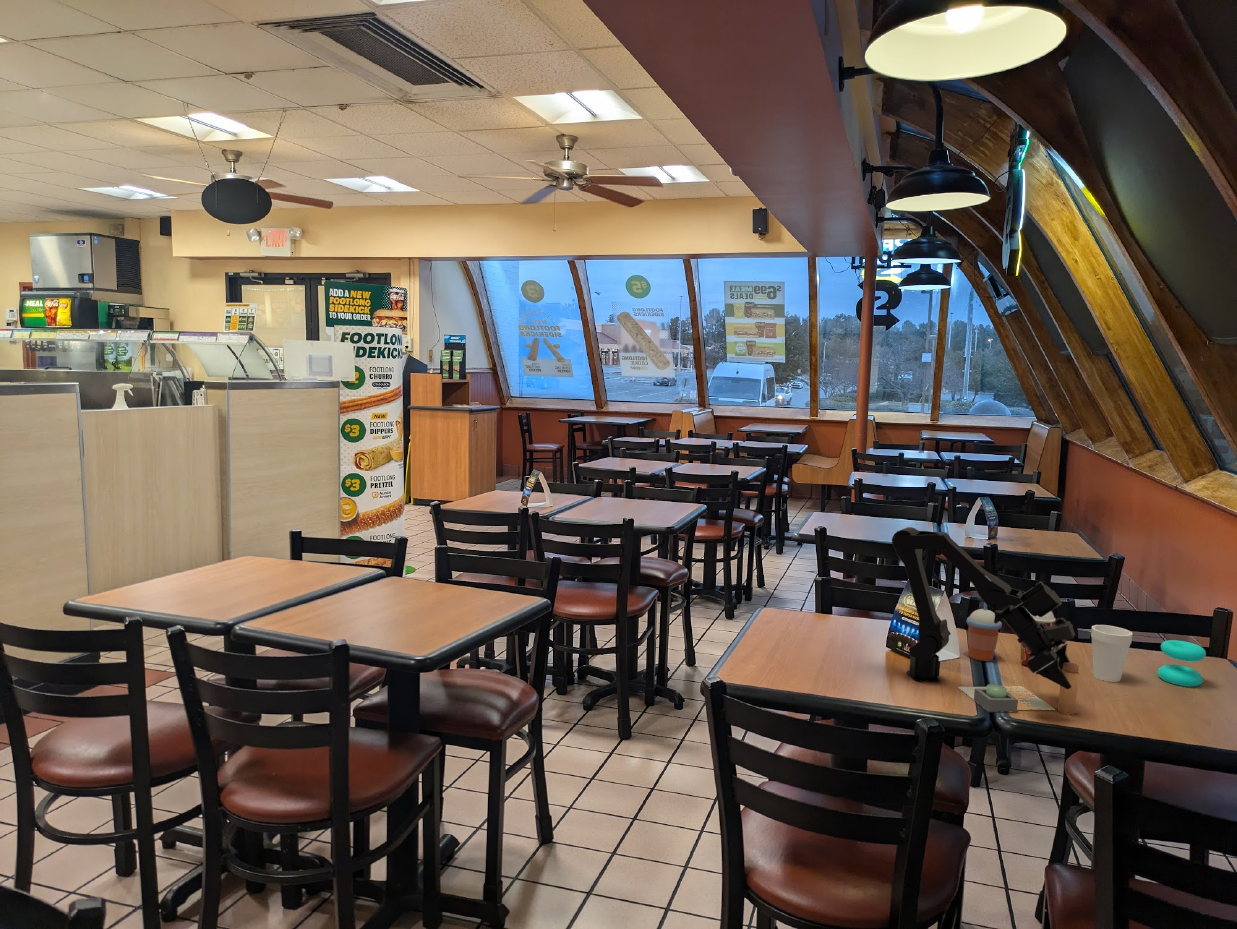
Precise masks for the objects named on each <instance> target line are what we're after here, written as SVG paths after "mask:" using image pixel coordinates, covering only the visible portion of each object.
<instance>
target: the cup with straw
mask: <svg viewBox="0 0 1237 929" xmlns="http://www.w3.org/2000/svg"><path fill="white" fill-rule="evenodd" d="M994 619H995V613H994V612H993V611H992V610H989V609H988V605H987V604H986V603H985V602H984V601H983V608H979V609H976V610H974V611H972V612H971V614H970V615H969V616H968V617H967V618H966V624H967V625H968V629H967V644H968V656H969V657H970V658H971V659H973V660H976V661H981V662H991V661H993V658H994V654H995V650H996V649H997V643H998V638H999V630H1000V629H1001V628H1002V626H1003V624H1002V622H1001V621H999V622H998V623H994Z"/></svg>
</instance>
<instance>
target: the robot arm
mask: <svg viewBox="0 0 1237 929" xmlns="http://www.w3.org/2000/svg"><path fill="white" fill-rule="evenodd" d="M891 543H892V547H893V548H894V551H895V553H896V555H897V556H898V558H899V559H900V561H901V562H902V564H903V566H904V568H905V572H906V575H907V580H908V584H909V587H910V591H911V594H912V598H913V601H914V604H915V609H916V612H917V617H918V627H917V629H918V630H917V631H918V632H917V633H918V634H917V635H918V640H917V641H916V643H914V644H913V645H912V646H911V647H909V648H908V651H909V653H910V658H909V669H908V670H906V674H907V675H908V676H909V677H911V678H912V679H913V680H914V681H916V682H926V683H927V682H931V683H932V682H937V683H939V682H941V679H940V678H939V677H940V672H941V670H940V669H941V661H940V656H939V655H938V654H937V653H939V652H941V651H942V650H943V649H944V648H945V647H946V646H947V645H948V644H949V641H950V636H951V635H952V634H951V632H950V630H949V628H948V620H947V619H942V620H941V618H940V617H939V615H938V614H937V611H936V608H935V605H934V599H933V596H932V593H931V592H932V591H931V589H930V586H929V582H928V578H927V575H926V571H925V567H924V564H923V550H928V549H930V550H931V549H933V550H937V551H938V552H939V553H941V555H942V556H943V557H944V558H946V559H947V560H948V561H949V563H950V564H952V565H953V566H954V568H956V569H957V570H958V571H959V572H960V573H961V574H963V576H964V577H965V578H967V579H968V580H969V581H970V582H971V584H972V585H973V587H974V588H975V591H976V592H977V594H978V595H979V597H980V598H981V599H982V600H983V603H984V602H985V603H986V604H987V607H989V608H991V609H996V610H995V611H994V612H993V613H995V619H994V623H998V622H999V621H1000V622H1001V621H1002V620H1003V621H1004V622H1005V624H1007V626H1008V627H1009V629H1011V631H1012V632H1013V633H1014V634H1015V636H1016V637H1017V642H1018V643H1019V644H1021V642H1023V644H1024V645H1025V646H1026V647H1027V648H1028V650H1029V651H1030V654H1029V655H1030V656H1031V657H1030V659H1029V660H1028V665H1027V666H1026V667H1027V668H1028V669H1029V671H1031V673H1032V674H1036V675H1039V676H1041V677H1043V678H1045V679H1047V680H1049V681H1052V682H1053V683H1055V684H1056V685H1059V687H1060V686H1062V687H1064V688H1066V689H1070V688H1071V687H1072V686H1071V685H1070V683H1069V681H1068V680H1067V678H1066V676H1065V675H1064V673H1063V672H1062V669H1063V663H1066V662H1068V663H1072V662H1071V661H1070V659H1069V657H1068V654H1067V649H1068V643H1067V641H1069V640H1072V639H1074V638H1075V636H1076V633H1075V630H1074V628H1073V627H1074V625H1073V623H1072V622H1071V621H1070V620H1069V621H1067V620H1066V618H1064V617H1059V618H1056V620H1055V624H1054V625H1052V626H1049V627H1046V626H1045V625H1044V624H1043V623H1042V624H1041V623H1039V624H1038V623H1037V621H1036V620H1035V619H1034V618H1033V617H1032V616H1031V615H1033V616H1035V617H1036V616H1039V617H1043V616H1044V615H1046V614H1047V613H1049V612H1050V611H1052V612H1053V610H1055V609H1057V608H1058V607H1060V606H1061V605H1062V604H1063V602H1062V600H1061V598H1060V596H1059V595H1058V594H1057V592H1055V590H1054V589H1051V588H1050V587H1049V586H1048V585H1046V584H1045V583H1044V582H1043V581H1038V582H1037V583H1036V584H1035V585H1034V586H1033V587H1031V588H1030V589H1029V590H1026V591H1024V590H1020V589H1016V588H1013V587H1011V586H1010V584H1008V583H1007V582H1005V581H1004V580H1003V579H1001V578H999V577H998V576H996V575H995V574H992V573H990V572H989V571H987V570H986V569H984V568H983V567H982V565H980V564H979V563H978V562H977V561H976V560H975V559H974V558H972V557H971V556H970V554H968V553H967V552H966V551H965V550H964V549H963V548H962V547H961V546H960V545H959V544H958V543H956V542H955V541H954V540H953V538H952V537H950V535H949V533H947V532H945V531H937V532H936V531H929V530H919V529H917V528H915V527H911V526H910V527H909V526H907V527H905V528H902V529H899V530H898V531H896V532H895V533H893V536H892V537H891ZM1020 602H1021V603H1020ZM1018 603H1019V604H1018ZM1016 604H1018V605H1016ZM1006 606H1007V607H1006ZM1004 607H1005V608H1004ZM1003 608H1004V609H1003ZM998 609H1002V610H998ZM1026 609H1027V610H1026Z"/></svg>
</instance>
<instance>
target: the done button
mask: <svg viewBox="0 0 1237 929" xmlns="http://www.w3.org/2000/svg"><path fill="white" fill-rule="evenodd" d="M1003 686H1004V685H1000V684H995V683H989V684H987V685H986V687H987V688H986V694H987V695H988V696H989V697H991V698H1006V693H1007V689H1006V688H1005V687H1003Z"/></svg>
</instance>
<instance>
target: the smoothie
mask: <svg viewBox="0 0 1237 929" xmlns="http://www.w3.org/2000/svg"><path fill="white" fill-rule="evenodd" d="M1025 609H1026V608H1025ZM1026 610H1027V609H1026ZM1031 616H1032V617H1033V618H1034V619H1035V620H1036V621H1037V623H1038V624H1039V623H1041V624H1042V623H1043V624H1044V625H1045V626H1046V627H1049V626H1052V625H1055V623H1056V620H1057V618H1056V617H1055V615H1054V613H1053V610H1052V611H1050V612H1049V613H1047V614H1046V615H1044V616H1043V617H1039V616H1036V617H1035V616H1033V615H1031ZM1029 654H1030V651H1029V650H1028V648H1027V647H1026V646H1025V645H1024V644H1023V642H1021V643H1020V660H1021V663H1022V665H1024V666H1025V665H1028V660H1029V659H1030V657H1031V656H1030V655H1029Z"/></svg>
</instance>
